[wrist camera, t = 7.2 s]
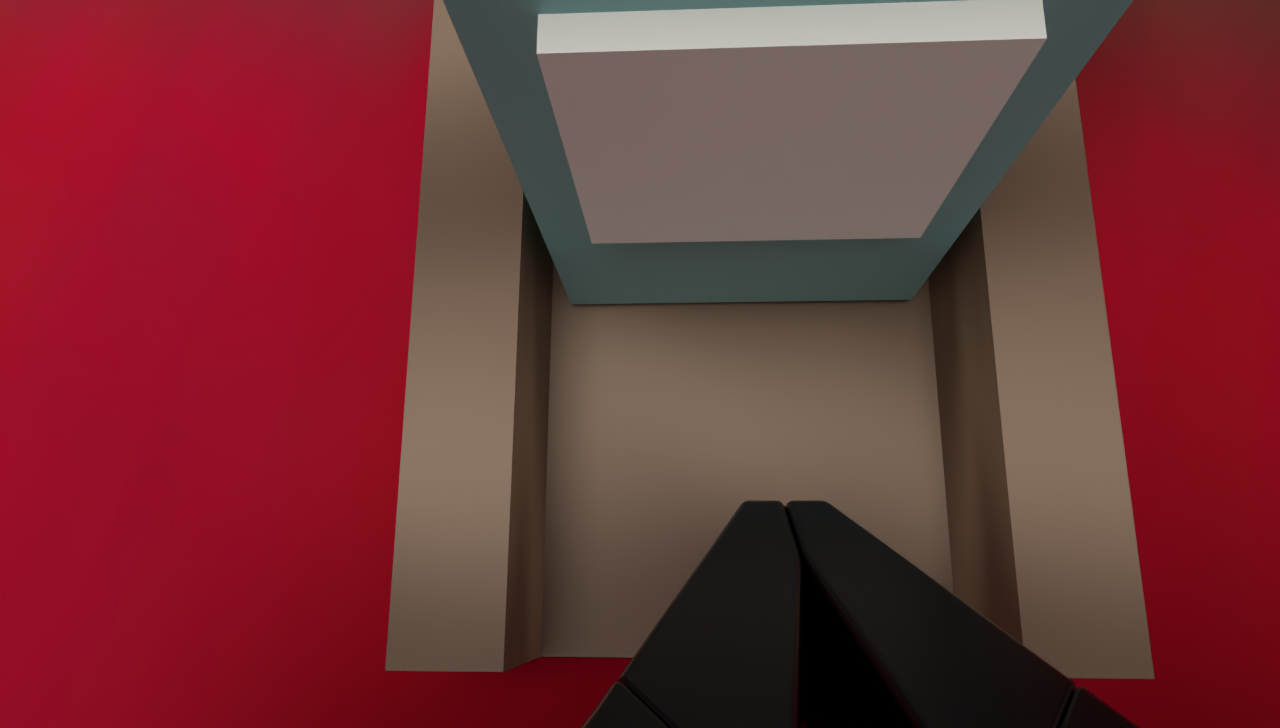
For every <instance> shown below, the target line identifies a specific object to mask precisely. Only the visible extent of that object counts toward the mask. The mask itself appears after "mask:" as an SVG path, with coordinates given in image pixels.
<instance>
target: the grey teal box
mask: <svg viewBox="0 0 1280 728" xmlns="http://www.w3.org/2000/svg"><path fill="white" fill-rule="evenodd" d="M1132 1H1133V0H443V2H444V4H445V7H446V9H447V12H448V14H449V16H450V19H451V21H452V23H453V26H454V28H455V30H456V33H457V35H458V38H459V40H460V42H461V45H462V47H463V49H464V52H465V54H466V56H467V59H468V61H469V64H470V66H471V68H472V71H473V73H474V75H475V78H476V80H477V82H478V85H479V87H480V90H481V92H482V94H483V97H484V99H485V101H486V104H487V106H488V108H489V111H490V113H491V116H492V118H493V120H494V123H495V125H496V127H497V130H498V132H499V134H500V137H501V139H502V142H503V144H504V146H505V149H506V151H507V153H508V156H509V158H510V160H511V163H512V165H513V168H514V170H515V172H516V175H517V177H518V179H519V182H520V184H521V186H522V189H523V191H524V194H525V196H526V198H527V201H528V203H529V205H530V208H531V210H532V212H533V215H534V217H535V220H536V222H537V224H538V227H539V229H540V231H541V234H542V236H543V238H544V241H545V243H546V246H547V248H548V250H549V253H550V255H551V257H552V260H553V262H554V264H555V267H556V269H557V272H558V274H559V276H560V279H561V281H562V283H563V286H564V288H565V290H566V293H567V295H568V298H569V300H570V302H571V304H633V303H707V302H781V301H855V300H912V299H913V297H914V296H915V295H916V293H917V292H918V290H919V289H920V288H921V286H922V285H923V284H924V282H925V281H926V280H927V278H928V277H929V276H930V274H931V273H932V272H933V270H934V269H935V267H936V266H937V265H938V263H939V262H940V261H941V259H942V258H943V257H944V255H945V254H946V253H947V251H948V250H949V249H950V247H951V246H952V244H953V243H954V242H955V240H956V239H957V238H958V236H959V235H960V234H961V232H962V231H963V230H964V228H965V227H966V226H967V224H968V223H969V222H970V220H971V219H972V217H973V216H974V215H975V213H976V212H977V211H978V209H979V208H980V207H981V205H982V204H983V203H984V201H985V200H986V199H987V197H988V196H989V194H990V193H991V192H992V190H993V189H994V188H995V186H996V185H997V184H998V182H999V181H1000V180H1001V178H1002V177H1003V176H1004V174H1005V173H1006V172H1007V170H1008V169H1009V167H1010V166H1011V165H1012V163H1013V162H1014V161H1015V159H1016V158H1017V157H1018V155H1019V154H1020V153H1021V151H1022V150H1023V149H1024V147H1025V146H1026V144H1027V143H1028V142H1029V140H1030V139H1031V138H1032V136H1033V135H1034V134H1035V132H1036V131H1037V130H1038V128H1039V127H1040V126H1041V124H1042V123H1043V121H1044V120H1045V119H1046V117H1047V116H1048V115H1049V113H1050V112H1051V111H1052V109H1053V108H1054V107H1055V105H1056V104H1057V103H1058V101H1059V100H1060V99H1061V97H1062V96H1063V94H1064V93H1065V92H1066V90H1067V89H1068V88H1069V86H1070V85H1071V84H1072V82H1073V81H1074V80H1075V78H1076V77H1077V76H1078V74H1079V73H1080V71H1081V70H1082V69H1083V67H1084V66H1085V65H1086V63H1087V62H1088V61H1089V59H1090V58H1091V57H1092V55H1093V54H1094V53H1095V51H1096V50H1097V48H1098V47H1099V46H1100V44H1101V43H1102V42H1103V40H1104V39H1105V38H1106V36H1107V35H1108V34H1109V32H1110V31H1111V30H1112V28H1113V27H1114V26H1115V24H1116V23H1117V21H1118V20H1119V19H1120V17H1121V16H1122V15H1123V13H1124V12H1125V11H1126V9H1127V8H1128V7H1129V5H1130V4H1131V3H1132Z"/></svg>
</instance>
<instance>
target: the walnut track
mask: <svg viewBox="0 0 1280 728" xmlns="http://www.w3.org/2000/svg"><path fill="white" fill-rule="evenodd" d="M748 500H757V501H767V500H776V501H780V502H782V503H783V504H784V506H785V505H786V504H787V503H788V502H789V501H793V500H823V501H826V502H828V503H830V504H831V505H833V506H834V507H836V508H837V509H838V510H840V511H841V512H842V513H844V514H845V515H846V516H848V517H849V518H851V519H852V520H853V521H855V522H856V523H857V524H859V525H860V526H861V527H863V528H864V529H866V530H867V531H868V532H870V533H871V534H872V535H874V536H875V537H877V538H878V539H879V540H881V541H882V542H883V543H885V544H886V545H887V546H889V547H890V548H892V549H893V550H894V551H896V552H897V553H898V554H900V555H901V556H902V557H904V558H905V559H907V560H908V561H909V562H911V563H912V564H913V565H915V566H916V567H917V568H919V569H920V570H922V571H923V572H924V573H926V574H927V575H928V576H930V577H931V578H933V579H934V580H935V581H937V582H938V583H939V584H941V585H942V586H943V587H945V588H946V589H948V590H949V591H950V592H952V593H953V594H954V595H956V596H957V597H958V598H960V599H961V600H963V601H964V602H965V603H967V604H968V605H969V606H971V607H972V608H974V609H975V610H976V611H978V612H979V613H980V614H982V615H983V616H984V617H986V618H987V619H989V620H990V621H991V622H993V623H994V624H995V625H997V626H998V627H999V628H1001V629H1002V630H1004V631H1005V632H1006V633H1008V634H1009V635H1010V636H1012V637H1013V638H1014V639H1016V640H1017V641H1019V642H1020V643H1021V644H1023V645H1024V646H1025V647H1027V648H1028V649H1030V650H1031V651H1032V652H1034V653H1035V654H1036V655H1038V656H1039V657H1040V658H1042V659H1043V660H1045V661H1046V662H1047V663H1049V664H1050V665H1051V666H1053V667H1054V668H1055V669H1057V670H1058V671H1060V672H1061V673H1062V674H1064V675H1065V676H1066V677H1068V678H1109V679H1155V678H1154V670H1153V663H1152V655H1151V647H1150V640H1149V632H1148V625H1147V617H1146V610H1145V602H1144V594H1143V587H1142V579H1141V572H1140V564H1139V557H1138V549H1137V541H1136V534H1135V526H1134V519H1133V511H1132V504H1131V496H1130V488H1129V481H1128V473H1127V466H1126V458H1125V451H1124V443H1123V435H1122V428H1121V420H1120V413H1119V405H1118V398H1117V390H1116V382H1115V375H1114V367H1113V360H1112V352H1111V345H1110V337H1109V329H1108V322H1107V314H1106V307H1105V299H1104V292H1103V284H1102V277H1101V269H1100V261H1099V254H1098V246H1097V239H1096V231H1095V224H1094V216H1093V208H1092V201H1091V193H1090V186H1089V178H1088V171H1087V163H1086V155H1085V148H1084V140H1083V133H1082V125H1081V118H1080V110H1079V102H1078V95H1077V87H1076V80H1074V81H1073V82H1072V84H1071V85H1070V86H1069V88H1068V89H1067V90H1066V92H1065V93H1064V94H1063V96H1062V97H1061V99H1060V100H1059V101H1058V103H1057V104H1056V105H1055V107H1054V108H1053V109H1052V111H1051V112H1050V113H1049V115H1048V116H1047V117H1046V119H1045V120H1044V121H1043V123H1042V124H1041V126H1040V127H1039V128H1038V130H1037V131H1036V132H1035V134H1034V135H1033V136H1032V138H1031V139H1030V140H1029V142H1028V143H1027V144H1026V146H1025V147H1024V149H1023V150H1022V151H1021V153H1020V154H1019V155H1018V157H1017V158H1016V159H1015V161H1014V162H1013V163H1012V165H1011V166H1010V167H1009V169H1008V170H1007V172H1006V173H1005V174H1004V176H1003V177H1002V178H1001V180H1000V181H999V182H998V184H997V185H996V186H995V188H994V189H993V190H992V192H991V193H990V194H989V196H988V197H987V199H986V200H985V201H984V203H983V204H982V205H981V207H980V208H979V209H978V211H977V212H976V213H975V215H974V216H973V217H972V219H971V220H970V222H969V223H968V224H967V226H966V227H965V228H964V230H963V231H962V232H961V234H960V235H959V236H958V238H957V239H956V240H955V242H954V243H953V244H952V246H951V247H950V249H949V250H948V251H947V253H946V254H945V255H944V257H943V258H942V259H941V261H940V262H939V263H938V265H937V266H936V267H935V269H934V270H933V272H932V273H931V274H930V276H929V277H928V278H927V280H926V281H925V282H924V284H923V285H922V286H921V288H920V289H919V290H918V292H917V293H916V295H915V296H914V297H913V299H912V300H855V301H781V302H707V303H633V304H571V302H570V300H569V298H568V295H567V293H566V290H565V288H564V286H563V283H562V281H561V279H560V276H559V274H558V272H557V269H556V267H555V264H554V262H553V260H552V257H551V255H550V253H549V250H548V248H547V246H546V243H545V241H544V238H543V236H542V234H541V231H540V229H539V227H538V224H537V222H536V220H535V217H534V215H533V212H532V210H531V208H530V205H529V203H528V201H527V198H526V196H525V194H524V191H523V189H522V186H521V184H520V182H519V179H518V177H517V175H516V172H515V170H514V168H513V165H512V163H511V160H510V158H509V156H508V153H507V151H506V149H505V146H504V144H503V142H502V139H501V137H500V134H499V132H498V130H497V127H496V125H495V123H494V120H493V118H492V116H491V113H490V111H489V108H488V106H487V104H486V101H485V99H484V97H483V94H482V92H481V90H480V87H479V85H478V82H477V80H476V78H475V75H474V73H473V71H472V68H471V66H470V64H469V61H468V59H467V56H466V54H465V52H464V49H463V47H462V45H461V42H460V40H459V38H458V35H457V33H456V30H455V28H454V26H453V23H452V21H451V19H450V16H449V14H448V12H447V9H446V7H445V4H444V2H443V0H434V11H433V25H432V38H431V52H430V66H429V79H428V93H427V107H426V120H425V134H424V148H423V161H422V175H421V189H420V202H419V216H418V230H417V243H416V257H415V271H414V284H413V298H412V312H411V325H410V339H409V353H408V366H407V380H406V394H405V407H404V421H403V435H402V448H401V462H400V476H399V489H398V503H397V517H396V530H395V544H394V558H393V571H392V585H391V599H390V612H389V626H388V640H387V653H386V667H385V671H460V672H504V671H507V670H509V669H512V668H514V667H517V666H519V665H522V664H524V663H526V662H529V661H531V660H534V659H536V658H539V657H632V658H633V657H634V656H635V654H636V653H637V651H638V650H639V649H640V647H641V646H642V644H643V643H644V641H645V640H646V639H647V637H648V636H649V634H650V633H651V631H652V630H653V629H654V627H655V626H656V624H657V623H658V621H659V620H660V619H661V617H662V616H663V614H664V613H665V612H666V610H667V609H668V607H669V606H670V604H671V603H672V602H673V600H674V599H675V597H676V596H677V594H678V593H679V592H680V590H681V589H682V587H683V586H684V584H685V583H686V582H687V580H688V579H689V577H690V576H691V574H692V573H693V572H694V570H695V569H696V567H697V566H698V564H699V563H700V562H701V560H702V559H703V557H704V556H705V555H706V553H707V552H708V550H709V549H710V547H711V546H712V545H713V543H714V542H715V540H716V539H717V537H718V536H719V535H720V533H721V532H722V530H723V529H724V527H725V526H726V525H727V523H728V522H729V520H730V519H731V517H732V516H733V515H734V513H735V512H736V510H737V509H738V508H739V506H740V505H741V504H742V503H743V502H744V501H748Z"/></svg>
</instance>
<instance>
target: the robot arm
mask: <svg viewBox="0 0 1280 728" xmlns="http://www.w3.org/2000/svg"><path fill="white" fill-rule="evenodd" d="M582 728H1140V727H1138V726H1137V725H1135V724H1134V723H1133V722H1131V721H1130V720H1128V719H1127V718H1125V717H1124V716H1123V715H1121V714H1120V713H1118V712H1117V711H1116V710H1114V709H1113V708H1111V707H1110V706H1109V705H1107V704H1106V703H1105V702H1103V701H1102V700H1101V699H1099V698H1098V697H1096V696H1095V695H1094V694H1092V693H1091V692H1090V691H1088V690H1087V689H1085V688H1084V687H1078V688H1076V685H1075V683H1074V682H1073V681H1072V680H1071V679H1069V678H1068V677H1066V676H1065V675H1064V674H1062V673H1061V672H1060V671H1058V670H1057V669H1055V668H1054V667H1053V666H1051V665H1050V664H1049V663H1047V662H1046V661H1045V660H1043V659H1042V658H1040V657H1039V656H1038V655H1036V654H1035V653H1034V652H1032V651H1031V650H1030V649H1028V648H1027V647H1025V646H1024V645H1023V644H1021V643H1020V642H1019V641H1017V640H1016V639H1014V638H1013V637H1012V636H1010V635H1009V634H1008V633H1006V632H1005V631H1004V630H1002V629H1001V628H999V627H998V626H997V625H995V624H994V623H993V622H991V621H990V620H989V619H987V618H986V617H984V616H983V615H982V614H980V613H979V612H978V611H976V610H975V609H974V608H972V607H971V606H969V605H968V604H967V603H965V602H964V601H963V600H961V599H960V598H958V597H957V596H956V595H954V594H953V593H952V592H950V591H949V590H948V589H946V588H945V587H943V586H942V585H941V584H939V583H938V582H937V581H935V580H934V579H933V578H931V577H930V576H928V575H927V574H926V573H924V572H923V571H922V570H920V569H919V568H917V567H916V566H915V565H913V564H912V563H911V562H909V561H908V560H907V559H905V558H904V557H902V556H901V555H900V554H898V553H897V552H896V551H894V550H893V549H892V548H890V547H889V546H887V545H886V544H885V543H883V542H882V541H881V540H879V539H878V538H877V537H875V536H874V535H872V534H871V533H870V532H868V531H867V530H866V529H864V528H863V527H861V526H860V525H859V524H857V523H856V522H855V521H853V520H852V519H851V518H849V517H848V516H846V515H845V514H844V513H842V512H841V511H840V510H838V509H837V508H836V507H834V506H833V505H831V504H830V503H828V502H826V501H823V500H793V501H789V502H788V503H787V504H786V505H785V506H784V504H783V503H782V502H780V501H776V500H767V501H757V500H748V501H744V502H743V503H742V504H741V505H740V506H739V508H738V509H737V510H736V512H735V513H734V515H733V516H732V517H731V519H730V520H729V522H728V523H727V525H726V526H725V527H724V529H723V530H722V532H721V533H720V535H719V536H718V537H717V539H716V540H715V542H714V543H713V545H712V546H711V547H710V549H709V550H708V552H707V553H706V555H705V556H704V557H703V559H702V560H701V562H700V563H699V564H698V566H697V567H696V569H695V570H694V572H693V573H692V574H691V576H690V577H689V579H688V580H687V582H686V583H685V584H684V586H683V587H682V589H681V590H680V592H679V593H678V594H677V596H676V597H675V599H674V600H673V602H672V603H671V604H670V606H669V607H668V609H667V610H666V612H665V613H664V614H663V616H662V617H661V619H660V620H659V621H658V623H657V624H656V626H655V627H654V629H653V630H652V631H651V633H650V634H649V636H648V637H647V639H646V640H645V641H644V643H643V644H642V646H641V647H640V649H639V650H638V651H637V653H636V654H635V656H634V657H633V659H632V660H631V661H630V663H629V664H628V666H627V667H626V668H625V670H624V671H623V673H622V674H621V676H620V677H619V678H618V682H616V683H614V684H613V685H612V686H611V688H610V689H609V691H608V692H607V693H606V695H605V696H604V698H603V699H602V701H601V702H600V703H599V705H598V706H597V708H596V709H595V711H594V712H593V713H592V715H591V716H590V717H589V719H588V720H587V721H586V722H585V724H584V725H583V726H582Z"/></svg>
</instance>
